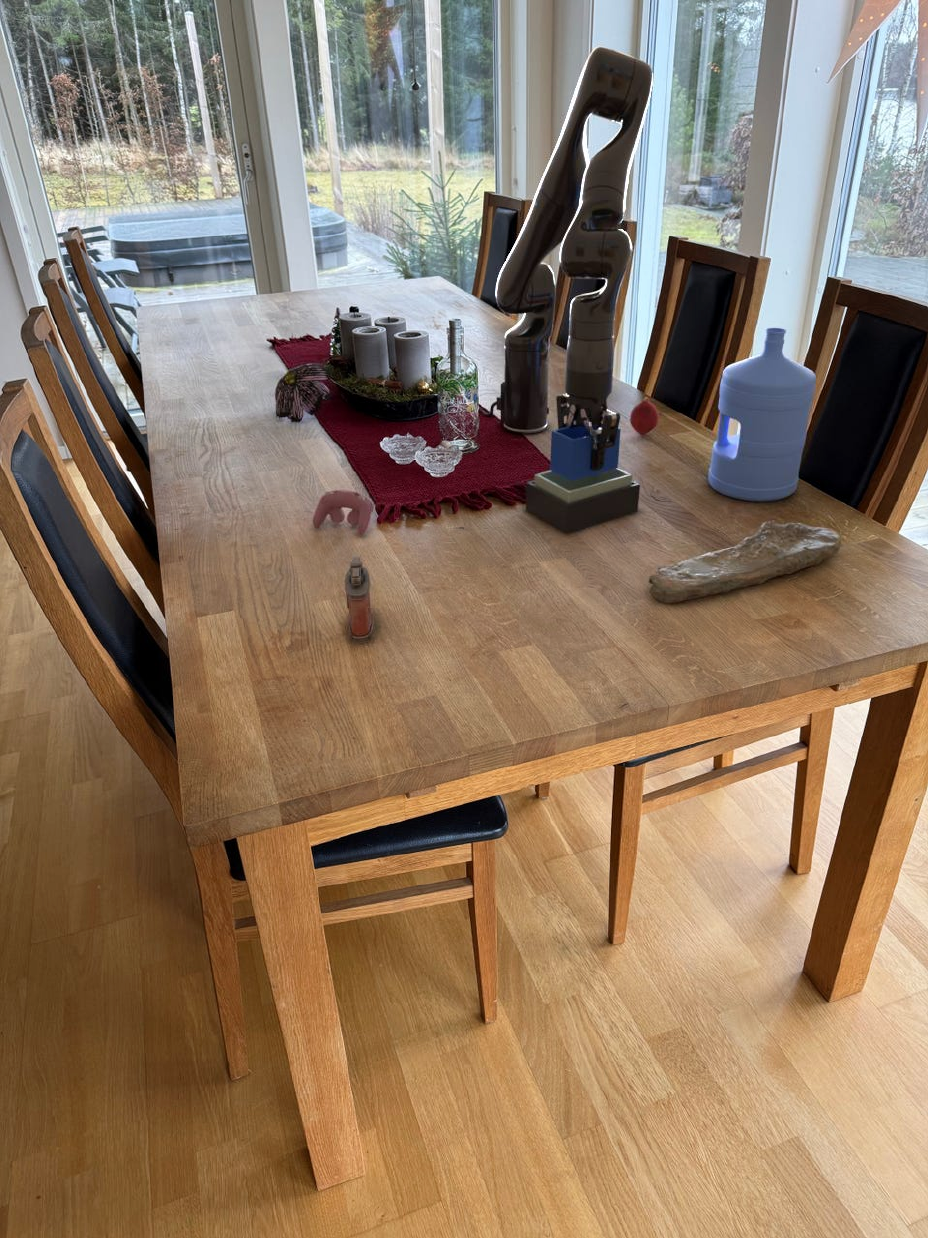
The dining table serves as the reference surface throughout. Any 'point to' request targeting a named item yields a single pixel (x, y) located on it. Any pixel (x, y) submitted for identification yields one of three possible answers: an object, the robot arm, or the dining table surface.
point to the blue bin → (578, 453)
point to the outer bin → (581, 507)
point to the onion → (644, 417)
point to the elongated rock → (746, 562)
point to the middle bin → (582, 484)
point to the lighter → (359, 602)
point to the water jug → (762, 424)
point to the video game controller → (348, 499)
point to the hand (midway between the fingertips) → (584, 463)
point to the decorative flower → (301, 391)
